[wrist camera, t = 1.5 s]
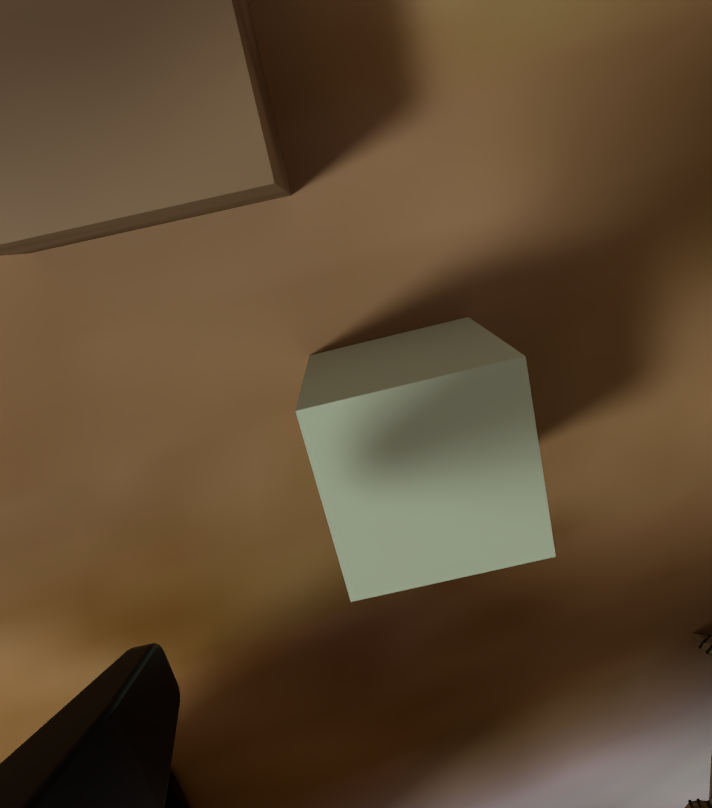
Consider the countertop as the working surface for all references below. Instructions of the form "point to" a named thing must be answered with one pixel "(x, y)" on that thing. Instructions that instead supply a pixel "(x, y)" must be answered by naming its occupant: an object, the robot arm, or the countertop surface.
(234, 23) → the walnut base
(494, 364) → the sage block
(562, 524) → the countertop surface
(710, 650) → the game die
